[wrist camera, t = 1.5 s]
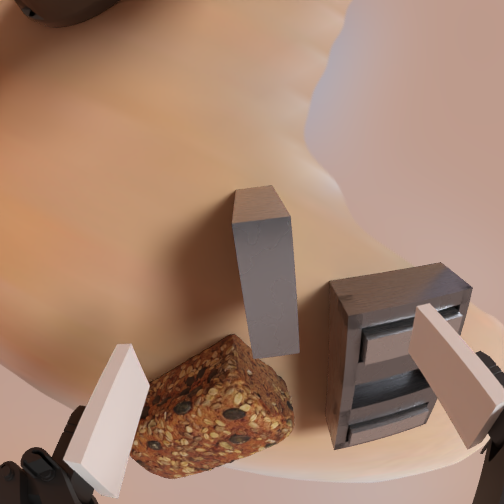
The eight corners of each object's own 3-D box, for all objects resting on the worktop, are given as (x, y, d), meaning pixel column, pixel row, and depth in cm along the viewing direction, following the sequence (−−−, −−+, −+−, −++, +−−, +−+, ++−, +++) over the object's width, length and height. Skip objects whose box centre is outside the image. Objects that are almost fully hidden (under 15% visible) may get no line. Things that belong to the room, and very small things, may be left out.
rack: (329, 281, 28) (352, 322, 21) (444, 261, 28) (482, 291, 21) (325, 415, 36) (335, 456, 29) (413, 392, 35) (432, 427, 29)
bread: (180, 431, 37) (171, 489, 27) (122, 390, 33) (100, 450, 24) (292, 380, 33) (305, 450, 24) (234, 323, 30) (232, 399, 20)
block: (235, 189, 25) (231, 223, 15) (272, 185, 25) (290, 216, 15) (249, 286, 28) (253, 359, 19) (281, 282, 28) (299, 353, 19)
